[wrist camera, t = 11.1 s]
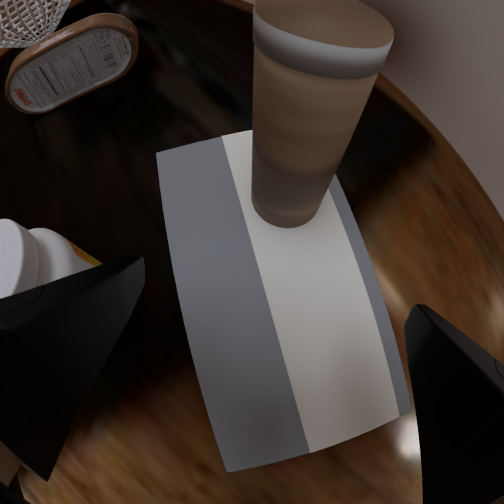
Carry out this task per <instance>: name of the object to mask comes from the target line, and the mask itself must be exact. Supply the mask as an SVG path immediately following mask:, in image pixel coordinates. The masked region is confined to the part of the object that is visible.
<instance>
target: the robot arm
mask: <svg viewBox="0 0 504 504" xmlns="http://www.w3.org/2000/svg"><path fill="white" fill-rule="evenodd" d="M144 283H145V272H144V260H143V258H142V257H141V256H136V255H129V256H126V257H122V258H119V259H116V260H113V261H110V262H107V263H104V264H101V265H98V266H95V267H92V268H89V269H86V270H83V271H81V272H78V273H75V274H72V275H69V276H66V277H63V278H60V279H57V280H55V281H52V282H49V283H46V285H45V284H43V285H40V286H38V287H35V288H32V289H29V290H26V291H23V292H20V293H17V294H14V295H10V296H7V297H4V298H0V504H31V503H29V502H28V501H26V500H25V499H24V497H23V494H22V491H21V487H20V484H19V481H18V478H17V474H15V473H16V472H17V470H18V468H19V466H20V464H21V465H22V466H24V467H25V468H27V469H28V470H30V471H31V472H33V473H34V474H36V475H37V476H39V477H40V478H42V479H43V480H45V481H48V480H49V478H50V475H51V473H52V471H53V468H54V466H55V464H56V461H57V459H58V457H59V454H60V452H61V450H62V448H63V445H64V443H65V441H66V439H67V437H68V435H69V432H70V430H71V428H72V427H71V426H73V423H74V421H75V419H76V417H77V415H78V413H79V411H80V409H81V407H82V405H83V403H84V401H85V399H86V397H87V395H88V393H89V391H90V389H91V387H92V385H93V383H94V382H95V380H96V378H97V376H98V374H99V372H100V370H101V368H102V367H103V365H104V363H105V361H106V359H107V357H108V355H109V354H110V352H111V350H112V348H113V346H114V345H115V343H116V341H117V339H118V338H119V336H120V334H121V332H122V331H123V329H124V327H125V325H126V324H127V322H128V320H129V318H130V315H131V313H132V311H133V309H134V306H135V304H136V302H137V300H138V297H139V295H140V293H141V291H142V288H143V286H144ZM404 335H405V343H406V352H407V362H408V369H409V375H410V380H411V386H412V392H413V398H414V404H415V411H416V418H417V425H418V434H419V443H420V453H421V466H422V478H423V479H422V487H423V504H504V365H503V364H502V363H500V362H499V361H498V360H497V359H495V358H494V357H493V356H492V355H491V354H489V353H488V352H487V351H486V350H484V349H483V348H482V347H480V346H479V345H478V344H477V343H475V342H474V341H473V340H472V339H470V338H469V337H468V336H466V335H465V334H464V333H463V332H461V331H460V330H459V329H457V328H456V327H455V326H453V325H452V324H451V323H449V322H448V321H447V320H445V319H444V318H443V317H441V316H440V315H439V314H437V313H436V312H435V311H433V310H432V309H431V308H429V307H428V306H426V305H422V304H416V305H414V306H413V308H412V310H411V312H410V314H409V316H408V318H407V320H406V322H405V325H404Z"/></svg>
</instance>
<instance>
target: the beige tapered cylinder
mask: <svg viewBox="0 0 504 504" xmlns="http://www.w3.org/2000/svg"><path fill="white" fill-rule="evenodd" d="M393 32H394V31H393V28H392V26H391V24H390V23H389V22H388V21H387V20H386V19H385V18H384V17H383V16H382V15H381V14H379V13H378V12H377V11H375V10H374V9H372V8H371V7H369V6H367V5H365V4H363V3H361V2H359V1H357V0H256V1H255V5H254V9H253V40H254V81H253V129H252V179H251V200H252V204H253V207H254V209H255V211H256V213H257V214H258V215H259V216H260V217H261V218H262V219H263V220H264V221H266V222H267V223H269V224H271V225H273V226H276V227H280V228H296V227H299V226H302V225H304V224H306V223H308V222H309V221H310V220H311V219H312V218H313V217H314V216H315V214H316V213H317V211H318V209H319V207H320V205H321V202H322V200H323V198H324V196H325V194H326V192H327V190H328V187H329V185H330V183H331V181H332V179H333V177H334V174H335V172H336V170H337V168H338V166H339V164H340V161H341V159H342V157H343V155H344V152H345V150H346V148H347V146H348V143H349V141H350V139H351V137H352V134H353V132H354V130H355V128H356V125H357V123H358V121H359V118H360V116H361V114H362V111H363V109H364V107H365V104H366V102H367V99H368V97H369V95H370V92H371V90H372V87H373V85H374V83H375V80H376V78H377V75H378V73H379V71H380V70H381V68H382V67H383V64H384V62H385V59H386V57H387V54H388V52H389V49H390V46H391V44H392V42H393Z"/></svg>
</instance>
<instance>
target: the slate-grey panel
mask: <svg viewBox="0 0 504 504" xmlns="http://www.w3.org/2000/svg"><path fill="white" fill-rule="evenodd" d="M156 156H157V165H158V174H159V182H160V190H161V197H162V204H163V211H164V218H165V224H166V231H167V237H168V243H169V249H170V255H171V260H172V266H173V271H174V276H175V281H176V287H177V291H178V296H179V301H180V306H181V311H182V315H183V320H184V324H185V329H186V333H187V337H188V341H189V345H190V350H191V354H192V358H193V362H194V365H195V369H196V373H197V377H198V381H199V384H200V388H201V392H202V395H203V399H204V402H205V406H206V409H207V412H208V416H209V419H210V422H211V426H212V429H213V432H214V435H215V438H216V441H217V444H218V448H219V451H220V454H221V457H222V459H223V462H224V465H225V468H226V471H227V473H228V472H234V471H239V470H244V469H249V468H254V467H259V466H263V465H267V464H271V463H275V462H279V461H283V460H287V459H290V458H294V457H297V456H301V455H304V454H307V453H312V452H315V451H318V450H321V449H324V448H327V447H330V446H333V445H335V444H338V443H341V442H343V441H346V440H349V439H351V438H354V437H356V436H359V435H361V434H363V433H366V432H368V431H370V430H373V429H375V428H377V427H379V426H382V425H384V424H386V423H388V422H390V421H392V420H394V419H396V418H398V417H400V416H401V415H403V414H405V413H407V412H409V411H411V410H412V408H411V403H410V398H409V394H408V389H407V384H406V380H405V376H404V371H403V367H402V363H401V359H400V355H399V351H398V347H397V344H396V340H395V336H394V333H393V329H392V326H391V322H390V319H389V315H388V312H387V309H386V306H385V302H384V299H383V296H382V293H381V290H380V287H379V284H378V281H377V278H376V275H375V272H374V269H373V266H372V263H371V261H370V258H369V255H368V252H367V250H366V247H365V244H364V242H363V239H362V236H361V234H360V231H359V229H358V226H357V224H356V221H355V219H354V216H353V214H352V211H351V209H350V206H349V204H348V202H347V199H346V197H345V195H344V192H343V190H342V188H341V185H340V183H339V181H338V179H337V176H336V174H334V177H333V179H332V181H331V183H330V185H329V187H328V190H327V192H326V194H325V196H324V198H323V200H322V202H321V205H320V207H319V209H318V211H317V213H316V214H315V216H314V217H313V218H312V219H311V220H310V221H309V222H308V223H306V224H304V225H302V226H299V227H296V228H280V227H276V226H273V225H271V224H269V223H267V222H266V221H264V220H263V219H262V218H261V217H260V216H259V215H258V214H257V213H256V211H255V209H254V207H253V204H252V200H251V179H252V130H250V131H244V132H239V133H234V134H229V135H225V136H222V137H218V138H214V139H210V140H205V141H201V142H197V143H193V144H189V145H185V146H181V147H177V148H173V149H169V150H166V151H162V152H159V153H156Z"/></svg>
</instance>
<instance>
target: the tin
mask: <svg viewBox="0 0 504 504" xmlns="http://www.w3.org/2000/svg"><path fill="white" fill-rule="evenodd" d="M137 54H138V33H137V30H136V28H135V26H134V25H133V23H132V22H131V21H129V20H128V19H127V18H125V17H123V16H121V15H118V14H113V13H100V14H95V15H92V16H89V17H87V18H84V19H82V20H80V21H78V22H76V23H73V24H71V25H69V26H67V27H65V28H63V29H61V30H59V31H57V32H55V33H53V34H51V35H49V36H48V37H46V38H44V39H42V40H40V41H38V42H37V43H35V44H33V45H31V46H30V47H28V48H27V49H25V50H24V51H22V52H21V53H20V54H19V55H18V56H17V57H16V59H15V60H14V61H13V63H12V65H11V67H10V70H9V75H8V78H7V81H6V88H5V89H6V96H7V98H8V100H9V102H10V103H11V104H12V105H13V106H14V107H15V108H16V109H18V110H19V111H21V112H23V113H27V114H42V113H47V112H50V111H52V110H54V109H56V108H58V107H60V106H62V105H64V104H66V103H68V102H70V101H72V100H74V99H76V98H78V97H80V96H83V95H85V94H87V93H89V92H91V91H94V90H96V89H98V88H101V87H103V86H106V85H108V84H110V83H113V82H115V81H116V80H118V79H120V78H121V77H123V76H124V75H125V74H126V73H127V72H128V71H129V70H130V69H131V67H132V66H133V64H134V62H135V60H136V58H137Z"/></svg>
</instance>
